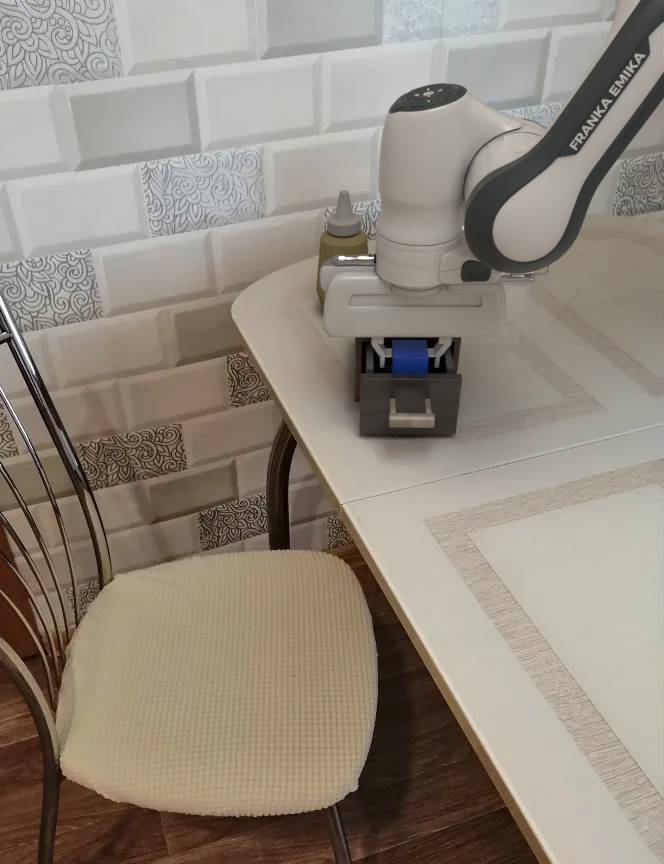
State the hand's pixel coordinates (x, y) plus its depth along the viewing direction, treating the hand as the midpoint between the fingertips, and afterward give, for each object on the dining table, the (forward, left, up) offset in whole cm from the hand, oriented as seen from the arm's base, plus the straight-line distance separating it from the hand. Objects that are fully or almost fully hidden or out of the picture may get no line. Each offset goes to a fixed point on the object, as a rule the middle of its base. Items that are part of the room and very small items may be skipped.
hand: (408, 365), depth 94 cm
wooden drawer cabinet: (0, -11, -8) cm, 13 cm away
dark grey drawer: (0, 0, -7) cm, 7 cm away
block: (0, 0, -2) cm, 2 cm away
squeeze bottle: (+8, -27, -8) cm, 29 cm away
